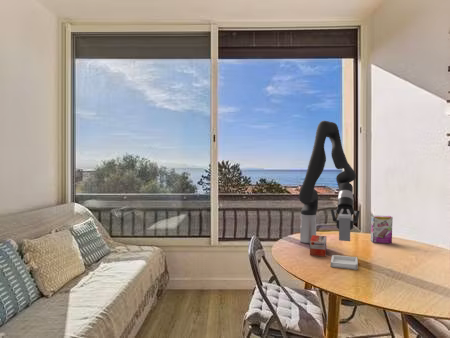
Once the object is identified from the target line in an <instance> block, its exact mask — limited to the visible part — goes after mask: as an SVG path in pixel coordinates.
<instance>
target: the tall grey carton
mask: <svg viewBox="0 0 450 338" xmlns="http://www.w3.org/2000/svg"><path fill="white" fill-rule="evenodd" d="M338 241H341V242H343V241H344V242H351V230H350V214H339V229H338Z"/></svg>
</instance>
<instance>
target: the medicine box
mask: <svg viewBox="0 0 450 338" xmlns="http://www.w3.org/2000/svg"><path fill="white" fill-rule="evenodd" d="M326 253H327V236H326V235H317V234H316V235H312V237H311V240H310V243H309V256H314V257H315V256H319V257H326Z"/></svg>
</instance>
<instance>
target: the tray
mask: <svg viewBox="0 0 450 338" xmlns="http://www.w3.org/2000/svg"><path fill="white" fill-rule="evenodd" d="M330 258H331V259H330V268H335V269H336V268H338V269H347V270H348V269H349V270H358V264H359V262H358V256H350V255H349V256H347V255H339V254H338V255H337V254H331V257H330Z"/></svg>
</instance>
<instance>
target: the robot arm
mask: <svg viewBox="0 0 450 338" xmlns="http://www.w3.org/2000/svg"><path fill="white" fill-rule="evenodd" d="M327 138H329V141H330V143H331V159H332V161H333V165H334V167H335V169H337V170H343V171H341V172H339V173H338V174H337V175H336V178H335V181H336V183H337V186H338V196H337V208H336V209H330V214H331V217H332V221H333V222H334V223H336V226H335V227H336V229H338V230H339V214H350V231H351V230H353V229H354V224H357V223H358V221H359V218H360V215H361V213H360V210H355V209H354V194H353V193H354V190H353V189H354V188H353V187H354V186H353V185H352V184H351V182H353V181H355V180H356V178H357V173H356V171H355V169H354V168H353V167H352V166H351V164H350V163H349V162H348V160H347V157H346V155H345V152H344V149H343V145H342V139H341V136H340V129H339V126H338V124H336V123H335V122H334V121H330V120H321V121H320V122H319V123H318V124H317V128H316V132H315V137H314V142H313V146H312V147H313V148H312V152H311V155H310V157H309V161H308V165H307V169H306V172H305V177H304V180H303V183H302V185H301V188H300V191H299V194H298V198H299V201H300V202H301V204H303V206H302V208H301V210H300V226H299V227H300V231H299V232H300V233H299V234H300V237H299V238H300V239H299V241H300V243H303V244H310V240H311V237H312V235H317V211H318V209H319V208H318V206H319V194H318V191H317V190H316V189H315V186H316V183H317V182H318V180H319V179H320V177H321V175H322V174H323V172H324V169H325V166H326V163H327V162H326V161H327V156H326V154H327V153H326V151H325V142H326V139H327ZM336 214H338V215H337V217H336ZM353 214H354V216H355V217H354V218H353Z"/></svg>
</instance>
